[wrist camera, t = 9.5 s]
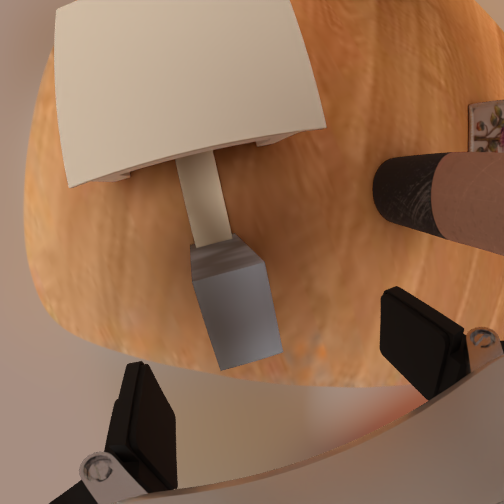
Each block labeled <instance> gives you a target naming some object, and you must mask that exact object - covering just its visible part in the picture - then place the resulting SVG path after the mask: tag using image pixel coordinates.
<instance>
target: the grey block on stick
mask: <svg viewBox="0 0 504 504" xmlns="http://www.w3.org/2000/svg"><path fill="white" fill-rule="evenodd" d="M175 162H176V166H177V171H178V175H179V180H180V184H181V188H182V193H183V197H184V201H185V205H186V209H187V213H188V218H189V222H190V226H191V230H192V233H193V237H194V241H195V244H192V245H190V255H191V272H192V283H193V286H194V290H195V293H196V296H197V300H198V303H199V306H200V309H201V313H202V316H203V319H204V322H205V325H206V328H207V331H208V334H209V337H210V341H211V344H212V347H213V349H214V352H215V355H216V358H217V361H218V364H219V367H220V370H221V371H222V370H226V369H229V368H233V367H236V366H240V365H243V364H247V363H250V362H254V361H257V360H260V359H263V358H267V357H270V356H273V355H276V354H279V353H282V352H283V349H282V344H281V339H280V334H279V329H278V324H277V319H276V315H275V310H274V305H273V300H272V295H271V290H270V285H269V280H268V276H267V271H266V266H265V262H264V261H263V260H262V259H261V258H260V257H259V256H258V255H257V254H256V253H255V252H254V251H253V250H252V249H251V248H250V247H249V246H248V245H247V244H245V243H244V242H243V241H242V240H241V239H240V238H239V237H238V236H237V235H236V234H235V233H234V234H232V233H231V229H230V225H229V220H228V216H227V212H226V207H225V203H224V198H223V194H222V190H221V185H220V181H219V176H218V172H217V167H216V163H215V158H214V154H213V150H210V151H206V152H202V153H197V154H193V155H189V156H185V157H181V158H177V159H175Z"/></svg>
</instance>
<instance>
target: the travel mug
mask: <svg viewBox="0 0 504 504" xmlns="http://www.w3.org/2000/svg"><path fill="white" fill-rule="evenodd" d="M373 197H374V201H375V204H376V207H377V209H378V211H379V212H380V214H381V215H382V216H383V217H384V218H385V219H386V220H388V221H390V222H393V223H395V224H399V225H402V226H405V227H409V228H412V229H415V230H419V231H422V232H425V233H428V234H432V235H435V236H438V237H441V238H444V239H447V240H450V241H454V242H458V243H462V244H465V245H469V246H472V247H476V248H479V249H483V250H486V251H490V252H493V253H496V254H500V255H503V256H504V153H496V152H448V153H436V154H424V155H414V156H405V157H397V158H392V159H389V160H387V161H385V162H384V163H383V164H382V165H381V166H380V167H379V169H378V170H377V172H376V175H375V178H374V182H373Z"/></svg>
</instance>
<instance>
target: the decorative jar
mask: <svg viewBox="0 0 504 504" xmlns="http://www.w3.org/2000/svg"><path fill="white" fill-rule="evenodd" d="M469 152H496V153H504V100H497V101H489V102H482V103H475V104H471V105H469Z"/></svg>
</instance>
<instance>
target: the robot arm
mask: <svg viewBox="0 0 504 504" xmlns="http://www.w3.org/2000/svg"><path fill="white" fill-rule="evenodd" d="M463 332H464V328H463V327H461V326H460V325H458V324H457V323H455V322H454V321H452V320H451V319H449V318H448V317H446V316H444V315H443V314H441V313H440V312H438V311H437V310H435V309H433V308H432V307H430V306H429V305H427V304H426V303H424V302H422V301H421V300H419V299H418V298H416V297H414V296H413V295H411V294H410V293H408V292H406V291H405V290H403V289H401V288H400V287H398V286H395V287H393V288H390V289H388V290H385V291H384V293H383V295H382V296H381V325H380V351H381V353H382V355H383V356H384V357H385V358H386V359H387V360H388V361H389V362H390V363H391V364H392V365H393V366H394V367H395V368H396V369H397V370H398V371H399V372H400V373H401V374H402V375H403V376H404V377H405V378H406V379H407V380H408V381H409V382H410V383H411V384H412V385H413V386H414V387H415V388H416V389H417V390H418V391H419V392H420V393H421V394H422V395H423V396H424V397H425V398H426V399H427V400H429V401H428V402H426V403H424V404H423V405H421V406H420V407H418V408H416V409H415V410H413V411H411V412H409V413H408V414H406V415H404V416H402V417H400V418H399V419H397V420H395V421H393V422H391V423H389V424H387V425H385V426H383V427H382V428H380V429H378V430H376V431H374V432H372V433H370V434H367V435H365V436H363V437H361V438H359V439H356V440H354V441H352V442H350V443H347V444H345V445H343V446H340V447H338V448H335V449H333V450H330V451H328V452H325V453H323V454H320V455H317V456H314V457H312V458H309V459H306V460H303V461H300V462H297V463H294V464H291V465H288V466H285V467H281V468H278V469H274V470H271V471H267V472H263V473H260V474H256V475H252V476H248V477H243V478H239V479H234V480H229V481H224V482H219V483H214V484H209V485H203V486H196V487H190V488H182V489H177V487H178V482H177V461H176V419H175V414H174V412H173V410H172V408H171V406H170V404H169V403H168V401H167V399H166V397H165V396H164V394H163V392H162V390H161V388H160V386H159V384H158V382H157V380H156V378H155V376H154V374H153V372H152V370H151V369H150V366H149V365H148V364H144V363H143V362H142V361H139V362H134V363H129V364H127V366H126V370H125V374H124V377H123V381H122V385H121V390H120V394H119V398H118V399H117V400H116V401H115V404H114V407H113V412H112V416H111V421H110V425H109V431H108V435H107V440H106V445H105V450H104V452H96V453H93V454H91V455H89V456H87V457H86V458H85V459H84V460H83V462H82V463H81V465H80V469H79V474H80V477H81V479H82V480H81V481H79V482H78V483H77V484H75V485H74V486H73V487H71V488H70V489H69V490H67V491H66V492H64V493H63V494H62V495H60V496H59V497H57V498H56V499H54V500H53V501H52V502H50V503H49V504H504V341H500V339H499V337H498V335H497V333H496V332H495V331H493V330H491V329H489V328H486V327H477V328H473V329H471V330H470V331H469V332H468V333H467V335H465V334H463ZM174 489H175V490H174Z"/></svg>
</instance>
